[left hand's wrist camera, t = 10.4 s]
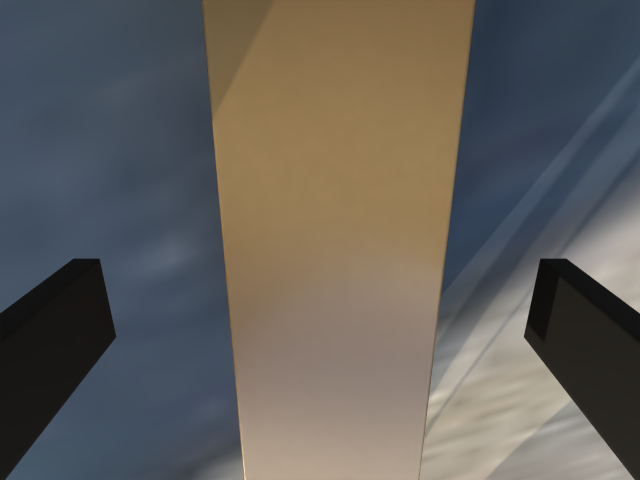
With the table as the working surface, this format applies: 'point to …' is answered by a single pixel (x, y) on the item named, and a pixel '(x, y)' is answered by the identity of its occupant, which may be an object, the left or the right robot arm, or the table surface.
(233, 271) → the beam
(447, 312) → the table surface
